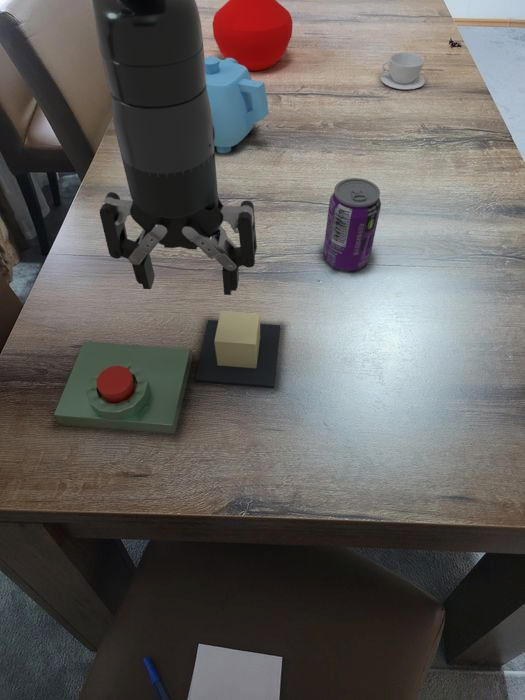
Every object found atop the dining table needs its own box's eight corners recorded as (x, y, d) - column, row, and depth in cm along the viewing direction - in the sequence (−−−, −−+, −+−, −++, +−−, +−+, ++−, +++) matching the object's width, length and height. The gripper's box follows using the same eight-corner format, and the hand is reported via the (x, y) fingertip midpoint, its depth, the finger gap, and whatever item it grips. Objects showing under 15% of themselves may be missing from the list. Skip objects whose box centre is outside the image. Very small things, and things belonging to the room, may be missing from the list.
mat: (195, 382, 62) (194, 379, 61) (208, 322, 68) (208, 319, 68) (274, 388, 61) (274, 385, 61) (280, 327, 67) (280, 324, 67)
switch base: (59, 424, 58) (47, 407, 55) (88, 351, 65) (79, 332, 62) (175, 434, 57) (169, 417, 54) (192, 359, 64) (188, 340, 61)
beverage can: (374, 271, 74) (390, 204, 65) (329, 276, 73) (338, 209, 64) (361, 240, 78) (374, 173, 69) (318, 245, 78) (325, 178, 68)
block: (217, 365, 63) (214, 341, 59) (223, 335, 66) (220, 310, 62) (256, 368, 62) (255, 344, 58) (260, 338, 65) (260, 313, 62)
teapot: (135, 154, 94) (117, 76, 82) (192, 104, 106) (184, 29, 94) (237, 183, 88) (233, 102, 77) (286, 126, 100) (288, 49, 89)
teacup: (423, 73, 114) (429, 51, 111) (424, 93, 108) (430, 70, 105) (380, 70, 115) (384, 48, 112) (379, 89, 110) (383, 67, 106)
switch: (95, 401, 56) (91, 392, 55) (106, 372, 59) (102, 364, 57) (130, 404, 56) (126, 395, 54) (138, 375, 58) (135, 366, 57)
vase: (266, 40, 126) (265, -53, 111) (306, 67, 116) (312, -31, 101) (202, 57, 120) (193, -40, 105) (238, 86, 111) (234, -15, 96)
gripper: (64, 164, 37) (114, 308, 50) (250, 175, 37) (252, 317, 50) (93, 115, 42) (132, 258, 55) (259, 124, 41) (258, 266, 54)
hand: (189, 286), depth 52 cm, fingers open, 8 cm apart
